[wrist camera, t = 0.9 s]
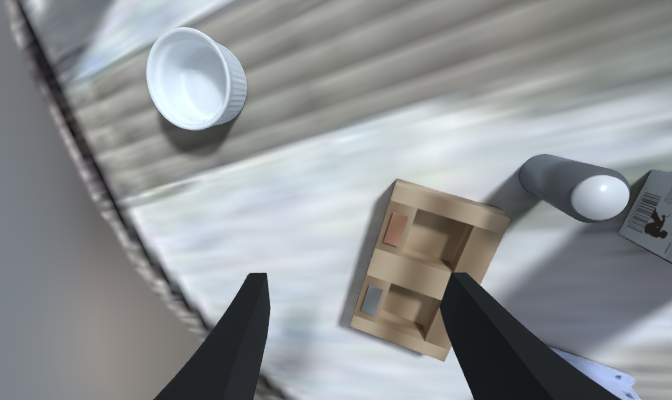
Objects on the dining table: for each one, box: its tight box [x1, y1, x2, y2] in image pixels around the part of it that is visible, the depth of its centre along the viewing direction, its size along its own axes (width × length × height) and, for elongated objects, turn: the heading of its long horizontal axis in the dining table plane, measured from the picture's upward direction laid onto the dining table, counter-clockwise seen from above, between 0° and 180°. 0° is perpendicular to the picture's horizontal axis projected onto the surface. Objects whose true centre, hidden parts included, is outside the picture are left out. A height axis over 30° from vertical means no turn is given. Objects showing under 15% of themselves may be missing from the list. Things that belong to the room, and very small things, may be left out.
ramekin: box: [146, 27, 247, 130], centre depth 29 cm, size 9×9×4 cm
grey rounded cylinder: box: [519, 154, 630, 223], centre depth 22 cm, size 4×4×9 cm
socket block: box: [350, 179, 511, 362], centre depth 29 cm, size 10×16×3 cm, turn 166°
